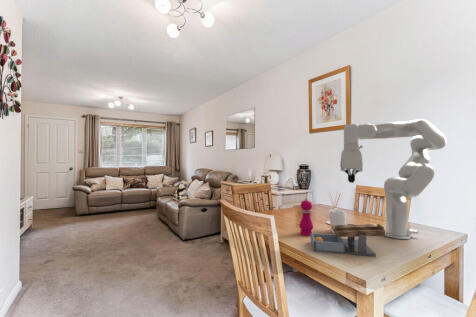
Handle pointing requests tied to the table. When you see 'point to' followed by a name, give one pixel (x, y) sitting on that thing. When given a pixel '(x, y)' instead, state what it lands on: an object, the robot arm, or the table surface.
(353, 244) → the stand
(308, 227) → the pepper mill
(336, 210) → the cup
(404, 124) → the robot arm
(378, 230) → the tray
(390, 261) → the table surface
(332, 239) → the bin
